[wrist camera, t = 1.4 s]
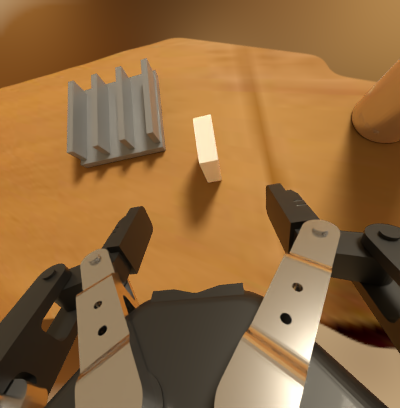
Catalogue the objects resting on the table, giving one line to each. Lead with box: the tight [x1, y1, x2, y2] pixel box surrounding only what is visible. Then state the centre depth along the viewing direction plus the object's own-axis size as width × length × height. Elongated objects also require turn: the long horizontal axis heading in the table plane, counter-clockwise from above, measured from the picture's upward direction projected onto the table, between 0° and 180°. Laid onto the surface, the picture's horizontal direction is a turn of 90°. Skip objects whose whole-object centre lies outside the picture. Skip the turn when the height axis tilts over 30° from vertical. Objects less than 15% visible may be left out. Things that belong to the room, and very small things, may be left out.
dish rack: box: [67, 58, 165, 168], centre depth 36 cm, size 18×18×5 cm
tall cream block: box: [193, 114, 222, 183], centre depth 29 cm, size 7×3×9 cm, turn 8°
